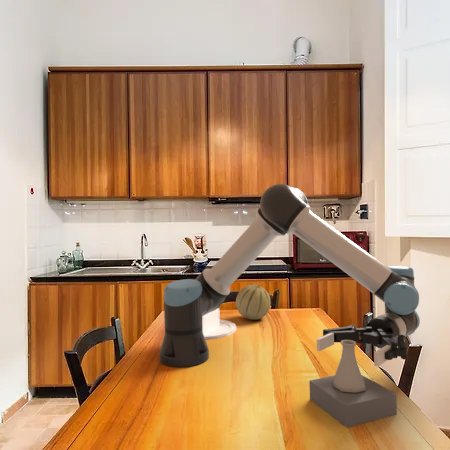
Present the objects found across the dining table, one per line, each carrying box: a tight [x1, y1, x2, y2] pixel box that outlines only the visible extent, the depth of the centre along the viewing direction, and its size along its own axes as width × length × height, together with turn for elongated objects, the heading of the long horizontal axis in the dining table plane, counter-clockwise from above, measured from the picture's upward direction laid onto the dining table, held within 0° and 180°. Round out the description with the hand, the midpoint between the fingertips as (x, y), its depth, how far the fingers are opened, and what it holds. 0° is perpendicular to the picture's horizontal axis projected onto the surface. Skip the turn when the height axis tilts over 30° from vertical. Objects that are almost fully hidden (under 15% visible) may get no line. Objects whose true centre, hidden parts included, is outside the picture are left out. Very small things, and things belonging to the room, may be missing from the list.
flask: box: [333, 340, 366, 393], centre depth 83 cm, size 7×7×10 cm
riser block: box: [309, 374, 398, 429], centre depth 83 cm, size 13×13×5 cm
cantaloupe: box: [235, 283, 271, 321], centre depth 159 cm, size 15×15×15 cm
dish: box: [202, 307, 237, 341], centre depth 145 cm, size 25×25×11 cm
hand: (345, 351), depth 82 cm, fingers open, 13 cm apart
